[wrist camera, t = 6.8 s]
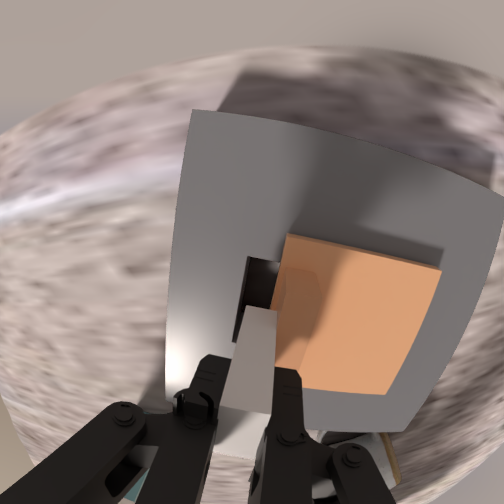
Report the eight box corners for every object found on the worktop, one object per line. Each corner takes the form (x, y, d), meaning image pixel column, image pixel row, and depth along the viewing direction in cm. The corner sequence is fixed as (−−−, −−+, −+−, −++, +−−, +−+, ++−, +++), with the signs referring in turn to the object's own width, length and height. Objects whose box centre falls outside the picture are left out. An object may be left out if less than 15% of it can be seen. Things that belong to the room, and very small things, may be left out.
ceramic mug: (393, 445, 24) (406, 496, 17) (327, 468, 26) (330, 519, 19) (376, 394, 22) (395, 457, 15) (295, 423, 24) (294, 487, 17)
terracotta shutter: (435, 266, 14) (469, 292, 10) (382, 387, 17) (396, 426, 13) (286, 232, 14) (288, 254, 11) (254, 371, 17) (247, 414, 13)
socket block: (475, 192, 16) (507, 198, 13) (392, 402, 22) (403, 431, 18) (210, 120, 17) (192, 109, 13) (180, 370, 23) (165, 400, 19)
